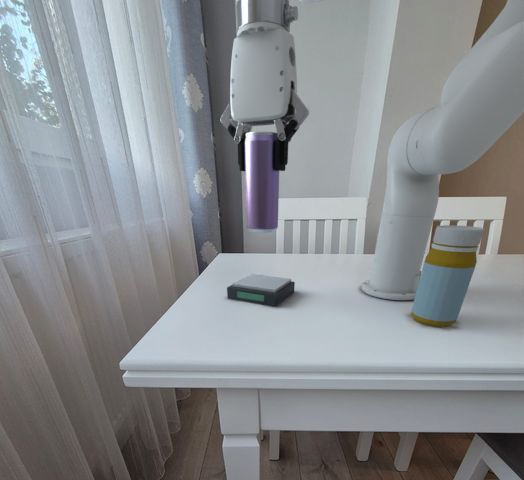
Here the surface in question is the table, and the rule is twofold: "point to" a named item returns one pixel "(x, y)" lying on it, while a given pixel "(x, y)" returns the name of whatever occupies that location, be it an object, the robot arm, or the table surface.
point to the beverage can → (261, 182)
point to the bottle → (446, 275)
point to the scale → (261, 290)
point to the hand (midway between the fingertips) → (262, 169)
